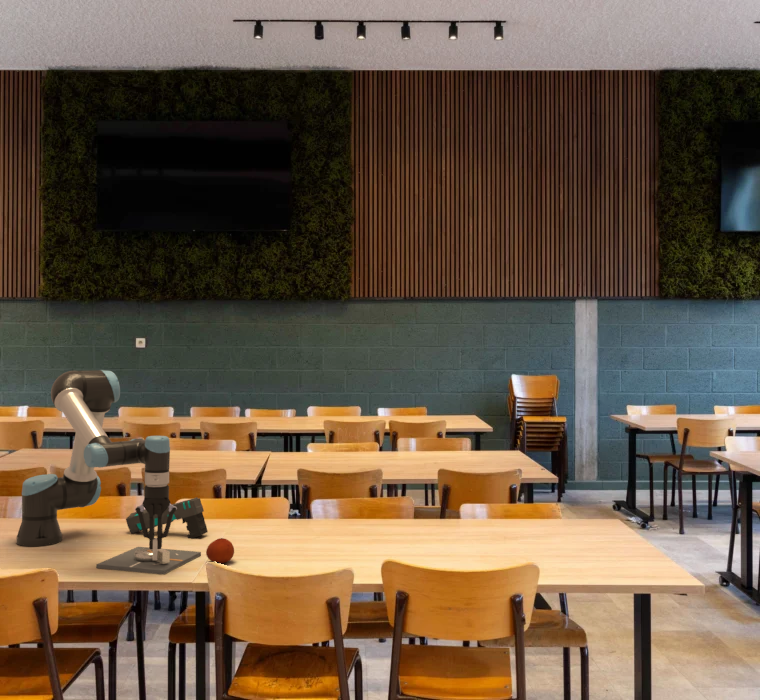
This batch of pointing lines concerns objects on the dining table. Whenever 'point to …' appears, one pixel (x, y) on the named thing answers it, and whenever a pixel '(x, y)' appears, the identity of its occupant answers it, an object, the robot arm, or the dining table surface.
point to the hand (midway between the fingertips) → (155, 559)
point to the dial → (147, 555)
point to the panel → (130, 564)
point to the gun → (185, 510)
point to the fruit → (220, 550)
